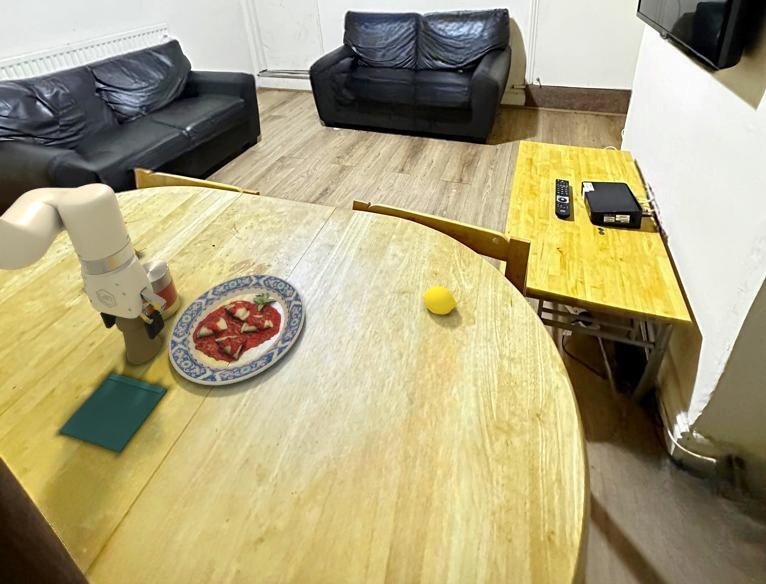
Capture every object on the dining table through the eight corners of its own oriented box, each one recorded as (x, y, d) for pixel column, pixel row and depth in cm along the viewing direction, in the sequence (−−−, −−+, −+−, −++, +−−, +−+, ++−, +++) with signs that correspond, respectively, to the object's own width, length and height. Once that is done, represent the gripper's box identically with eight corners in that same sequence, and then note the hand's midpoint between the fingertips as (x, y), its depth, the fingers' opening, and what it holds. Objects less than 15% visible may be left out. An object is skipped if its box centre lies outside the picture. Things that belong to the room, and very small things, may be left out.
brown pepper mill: (120, 361, 77) (102, 319, 73) (147, 335, 82) (131, 294, 78) (144, 371, 75) (127, 328, 71) (170, 343, 81) (155, 302, 76)
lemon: (419, 315, 85) (419, 295, 82) (426, 295, 89) (427, 276, 87) (452, 325, 82) (453, 305, 80) (458, 304, 87) (459, 285, 85)
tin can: (137, 321, 86) (121, 281, 81) (161, 296, 92) (148, 257, 87) (164, 328, 84) (150, 287, 79) (187, 302, 90) (175, 262, 86)
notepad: (61, 435, 66) (58, 429, 65) (113, 377, 75) (111, 371, 74) (121, 456, 63) (118, 450, 62) (168, 392, 72) (166, 387, 71)
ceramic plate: (210, 425, 66) (206, 413, 65) (149, 334, 83) (145, 324, 81) (331, 323, 83) (330, 313, 82) (261, 265, 100) (259, 255, 98)
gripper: (46, 261, 68) (81, 335, 75) (131, 279, 64) (159, 355, 71) (87, 233, 75) (115, 303, 82) (166, 247, 70) (189, 320, 77)
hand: (135, 327), depth 76 cm, fingers open, 9 cm apart
